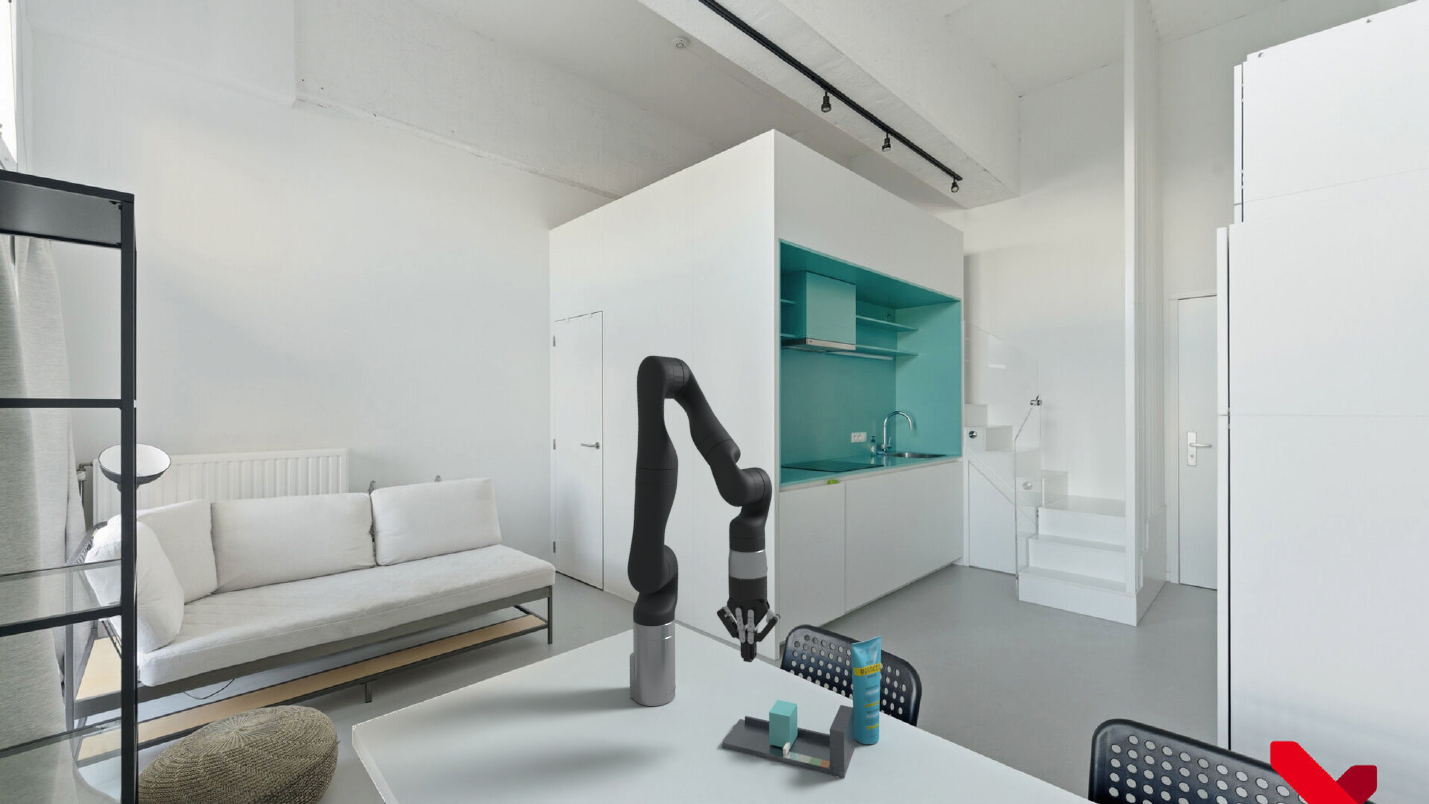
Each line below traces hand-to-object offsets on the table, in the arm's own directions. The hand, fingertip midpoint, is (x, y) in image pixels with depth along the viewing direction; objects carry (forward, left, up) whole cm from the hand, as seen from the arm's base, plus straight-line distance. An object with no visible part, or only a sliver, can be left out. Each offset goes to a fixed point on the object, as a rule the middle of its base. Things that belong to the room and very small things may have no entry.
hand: (749, 660), depth 116 cm
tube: (+21, +9, -15) cm, 27 cm away
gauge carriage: (+7, -1, -14) cm, 16 cm away
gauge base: (+8, -1, -15) cm, 17 cm away
